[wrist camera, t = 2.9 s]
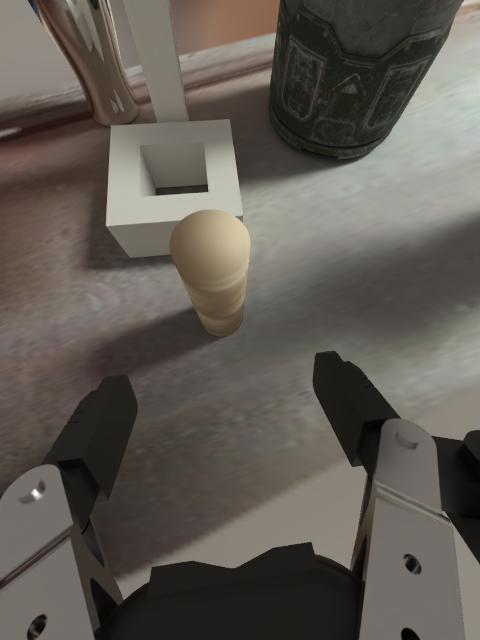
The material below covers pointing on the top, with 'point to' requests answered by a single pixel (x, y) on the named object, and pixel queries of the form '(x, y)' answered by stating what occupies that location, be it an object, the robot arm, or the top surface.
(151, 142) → the kiosk
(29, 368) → the top surface
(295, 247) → the top surface
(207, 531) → the top surface
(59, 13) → the beer glass
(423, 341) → the top surface
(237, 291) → the peg
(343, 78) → the canister
